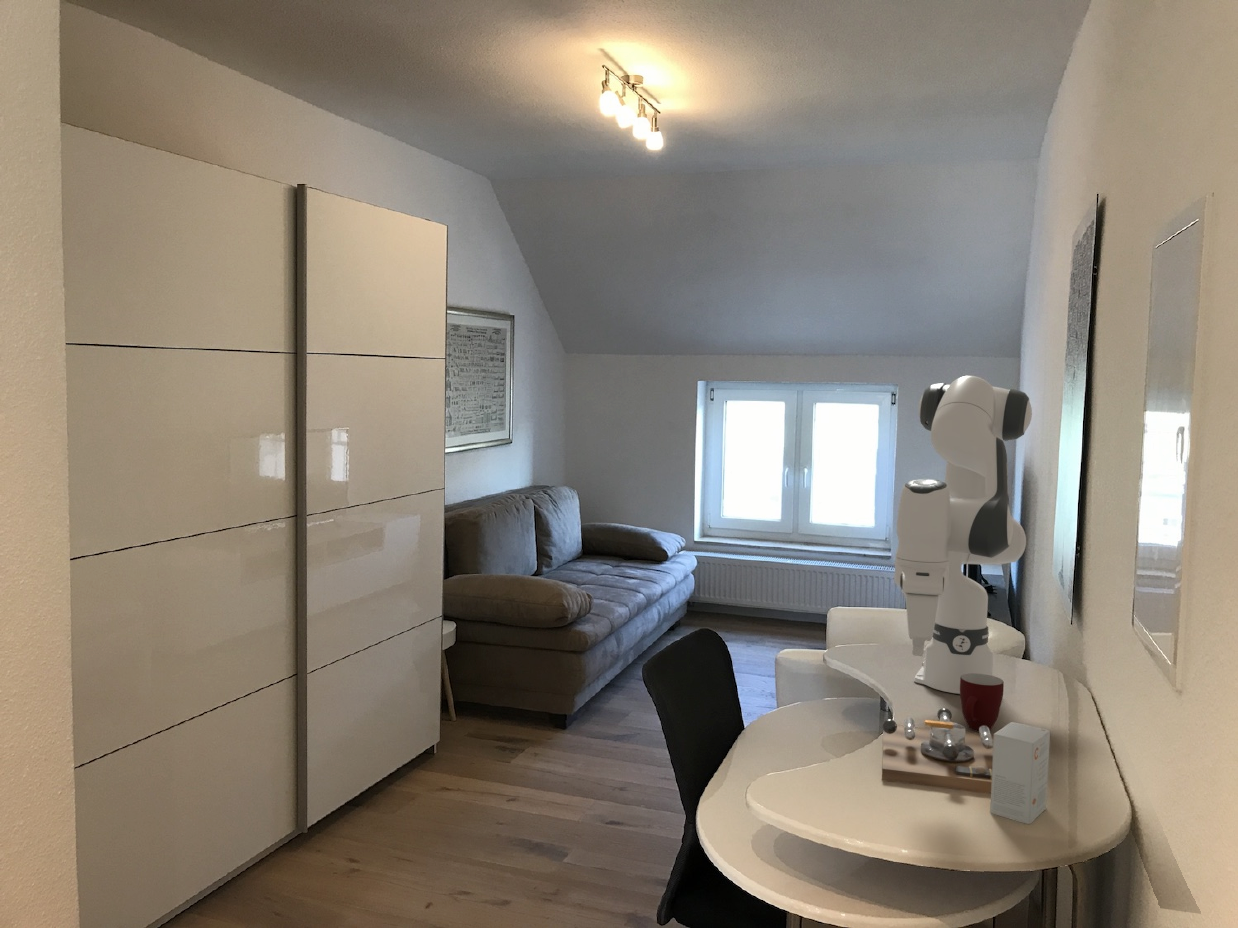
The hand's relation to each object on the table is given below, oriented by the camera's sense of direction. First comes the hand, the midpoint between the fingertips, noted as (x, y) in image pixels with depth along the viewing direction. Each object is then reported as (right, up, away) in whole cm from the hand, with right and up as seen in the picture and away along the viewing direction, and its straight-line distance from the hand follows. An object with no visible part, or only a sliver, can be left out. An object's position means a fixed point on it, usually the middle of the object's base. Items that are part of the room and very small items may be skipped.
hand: (917, 653), depth 171 cm
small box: (+12, -23, -13) cm, 29 cm away
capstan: (+7, -19, +7) cm, 21 cm away
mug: (+19, -20, +24) cm, 37 cm away
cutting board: (+7, -21, +7) cm, 23 cm away
